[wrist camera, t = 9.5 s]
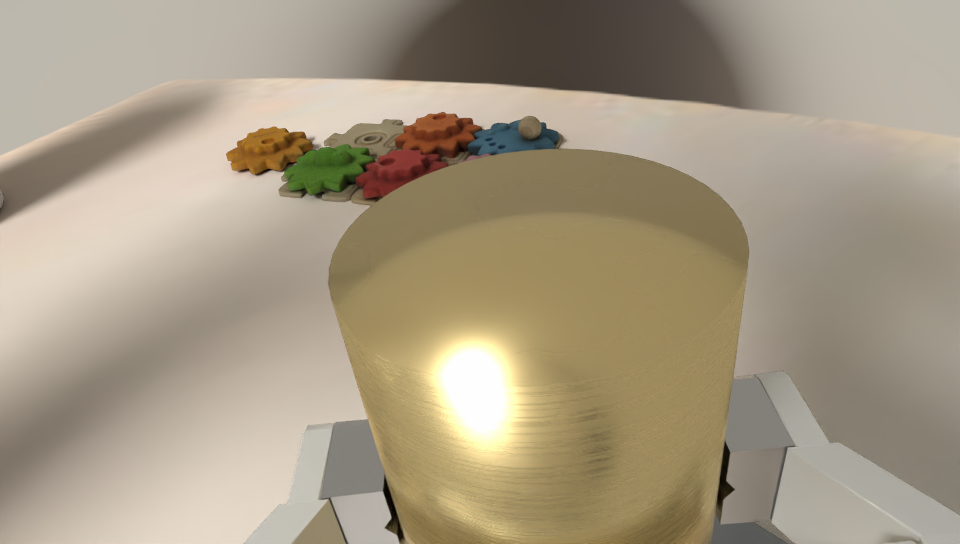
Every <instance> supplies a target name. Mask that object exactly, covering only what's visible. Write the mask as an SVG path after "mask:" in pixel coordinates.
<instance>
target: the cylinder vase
mask: <svg viewBox="0 0 960 544" xmlns="http://www.w3.org/2000/svg"><path fill="white" fill-rule="evenodd" d="M3 202H4V195H3V192H2V190H1V189H0V209H1V207H2V205H3Z"/></svg>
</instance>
